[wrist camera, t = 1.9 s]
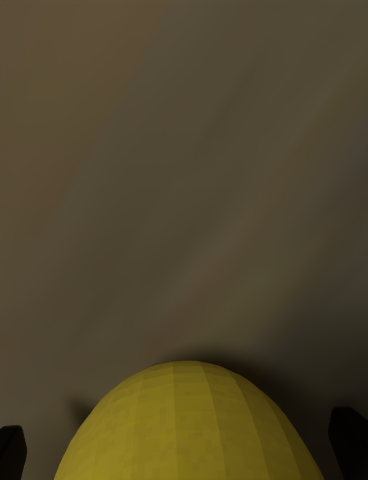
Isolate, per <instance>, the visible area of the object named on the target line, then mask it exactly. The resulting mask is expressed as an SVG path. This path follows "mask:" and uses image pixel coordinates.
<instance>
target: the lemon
mask: <svg viewBox="0 0 368 480" xmlns="http://www.w3.org/2000/svg"><path fill="white" fill-rule="evenodd" d="M54 480H324V478H323V476H322V474H321V472H320V470H319V468H318V466H317V464H316V462H315V461H314V459H313V457H312V455H311V454H310V452H309V450H308V449H307V447H306V446H305V444H304V442H303V441H302V439H301V438H300V436H299V435H298V433H297V431H296V430H295V428H294V427H293V425H292V424H291V422H290V421H289V419H288V418H287V417H286V415H285V414H284V413H283V412H282V410H281V409H280V408H279V407H278V406H277V404H276V403H275V402H273V401H272V400H271V399H270V398H269V397H268V396H267V395H266V394H265V393H263V392H262V391H261V390H260V389H259V388H257V387H256V386H255V385H254V384H252V383H251V382H250V381H249V380H247V379H245V378H244V377H242V376H241V375H239V374H236V373H234V372H232V371H230V370H227V369H225V368H223V367H221V366H218V365H215V364H210V363H205V362H200V361H171V362H167V363H162V364H158V365H153V366H151V367H149V368H147V369H144V370H142V371H140V372H138V373H136V374H134V375H132V376H130V377H128V378H127V379H125V380H124V381H123V382H121V383H120V384H119V385H118V386H116V387H115V388H114V389H112V390H111V391H110V392H109V393H108V394H107V395H105V396H104V397H103V398H102V399H101V400H100V402H99V403H98V404H97V405H96V407H95V408H94V409H93V411H92V412H91V413H90V414H89V416H88V417H87V418H86V420H85V421H84V422H83V424H82V425H81V426H80V428H79V429H78V431H77V432H76V434H75V436H74V437H73V439H72V440H71V442H70V444H69V446H68V448H67V450H66V452H65V454H64V456H63V458H62V460H61V463H60V465H59V468H58V470H57V473H56V475H55V478H54Z"/></svg>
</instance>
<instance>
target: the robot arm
mask: <svg viewBox="0 0 368 480" xmlns="http://www.w3.org/2000/svg"><path fill="white" fill-rule="evenodd" d="M328 435H329V439H330V442H331V445H332V447H333V450H334V453H335V456H336V458H337V461H338V464H339V467H340V469H341V472H342V475H343V478H344V480H368V420H367V419H366V418H364V417H363V416H362V415H361V414H359V413H358V412H357V411H355V410H354V409H353V408H351V407H349V406H340V407H334V408H333V410H332V413H331V418H330V423H329V427H328ZM26 457H27V446H26V442H25V438H24V433H23V429H22V427H21V426H20V425H11V426H4V427H2V428H1V429H0V480H21V476H22V473H23V469H24V465H25V461H26Z"/></svg>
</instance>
